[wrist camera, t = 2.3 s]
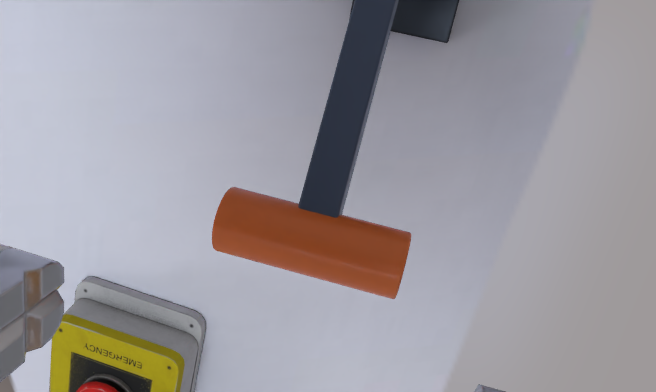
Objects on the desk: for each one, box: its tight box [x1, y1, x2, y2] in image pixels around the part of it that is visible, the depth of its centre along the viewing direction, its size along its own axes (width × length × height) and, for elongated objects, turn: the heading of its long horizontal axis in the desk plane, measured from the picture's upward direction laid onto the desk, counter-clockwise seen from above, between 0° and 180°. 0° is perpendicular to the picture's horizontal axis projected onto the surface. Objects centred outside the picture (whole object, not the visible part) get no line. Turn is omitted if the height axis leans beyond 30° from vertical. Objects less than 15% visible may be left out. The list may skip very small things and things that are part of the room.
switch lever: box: [212, 0, 411, 299], centre depth 15 cm, size 13×5×2 cm, turn 169°
